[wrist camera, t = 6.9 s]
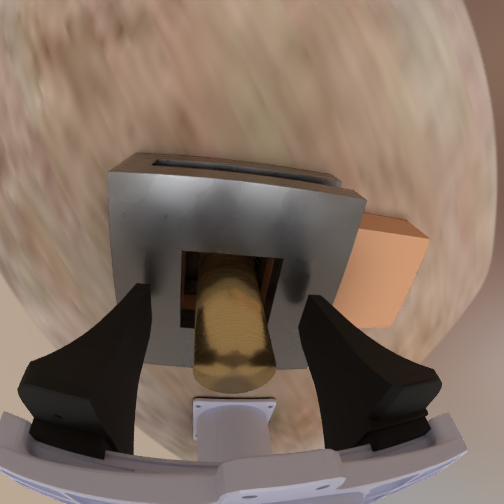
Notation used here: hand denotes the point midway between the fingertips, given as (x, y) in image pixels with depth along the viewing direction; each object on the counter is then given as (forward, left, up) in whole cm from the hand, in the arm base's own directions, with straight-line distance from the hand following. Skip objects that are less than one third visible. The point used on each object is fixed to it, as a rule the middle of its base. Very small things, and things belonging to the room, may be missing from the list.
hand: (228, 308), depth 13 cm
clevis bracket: (0, 0, -5) cm, 5 cm away
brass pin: (0, 0, -5) cm, 5 cm away
